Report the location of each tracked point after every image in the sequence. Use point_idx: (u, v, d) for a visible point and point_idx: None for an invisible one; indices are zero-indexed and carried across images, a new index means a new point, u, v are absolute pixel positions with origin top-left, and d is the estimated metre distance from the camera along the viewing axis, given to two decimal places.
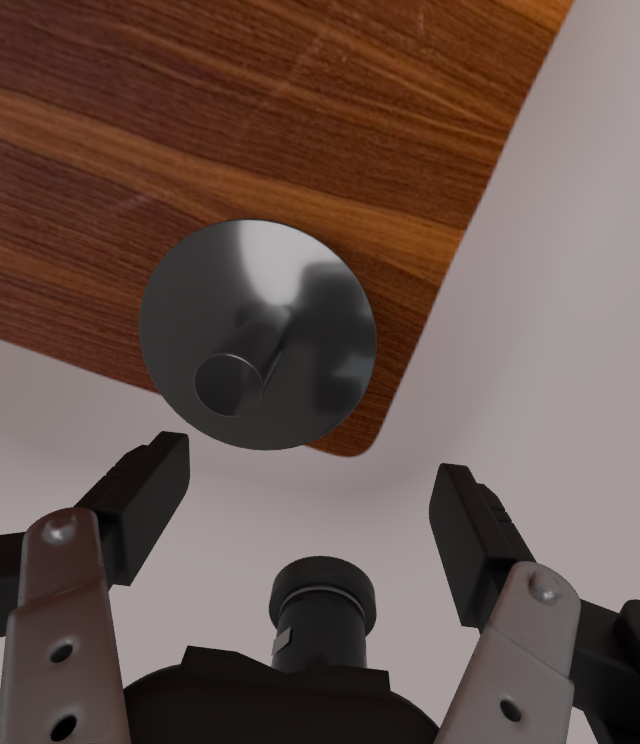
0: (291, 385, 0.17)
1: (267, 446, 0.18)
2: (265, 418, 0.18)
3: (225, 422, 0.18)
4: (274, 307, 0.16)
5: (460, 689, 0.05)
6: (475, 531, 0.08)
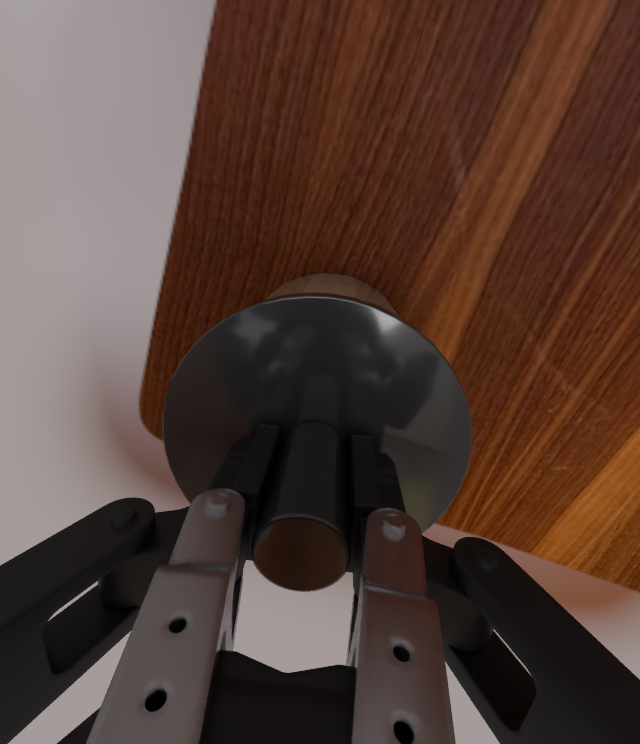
0: None
1: (171, 453, 0.13)
2: (215, 453, 0.13)
3: (200, 402, 0.12)
4: None
5: (360, 659, 0.05)
6: (354, 486, 0.09)
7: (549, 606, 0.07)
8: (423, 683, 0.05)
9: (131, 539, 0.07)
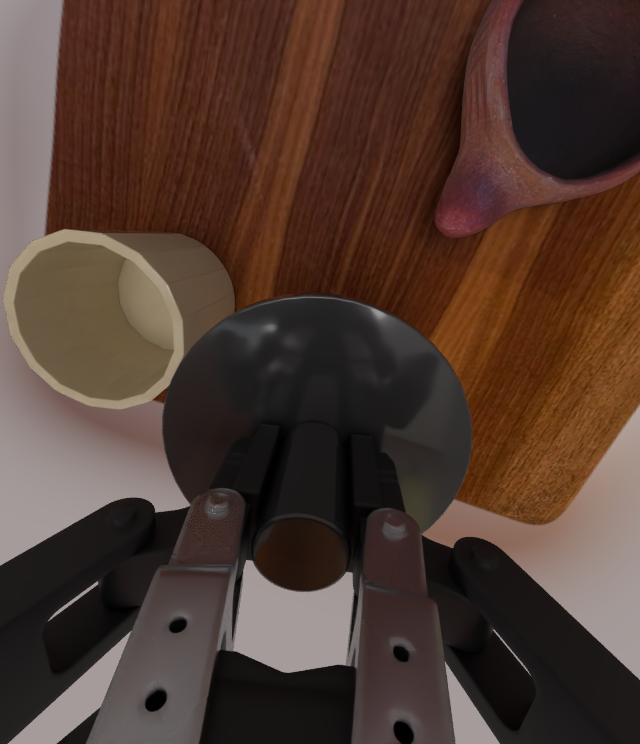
0: None
1: (171, 453, 0.13)
2: (214, 453, 0.13)
3: (199, 402, 0.12)
4: None
5: (360, 659, 0.05)
6: (353, 486, 0.09)
7: (549, 606, 0.07)
8: (423, 683, 0.05)
9: (131, 539, 0.07)
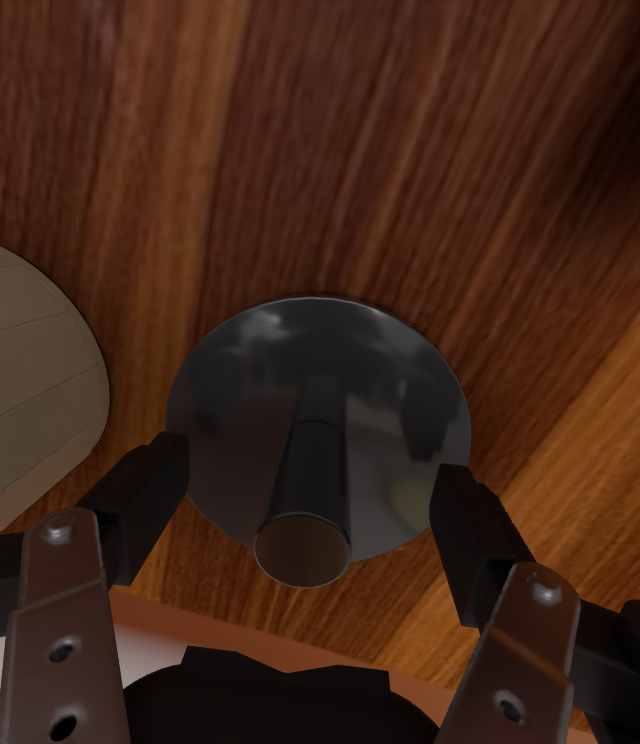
0: (266, 484, 0.14)
1: None
2: (217, 452, 0.13)
3: (202, 402, 0.13)
4: (366, 473, 0.13)
5: (460, 689, 0.05)
6: (475, 531, 0.08)
7: None
8: None
9: None
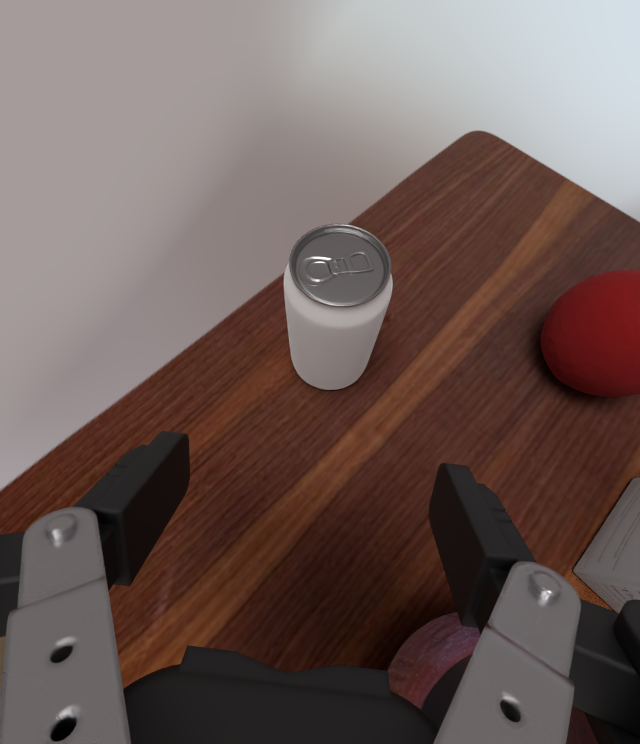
0: None
1: None
2: None
3: None
4: None
5: (460, 689, 0.05)
6: (475, 531, 0.08)
7: None
8: None
9: None
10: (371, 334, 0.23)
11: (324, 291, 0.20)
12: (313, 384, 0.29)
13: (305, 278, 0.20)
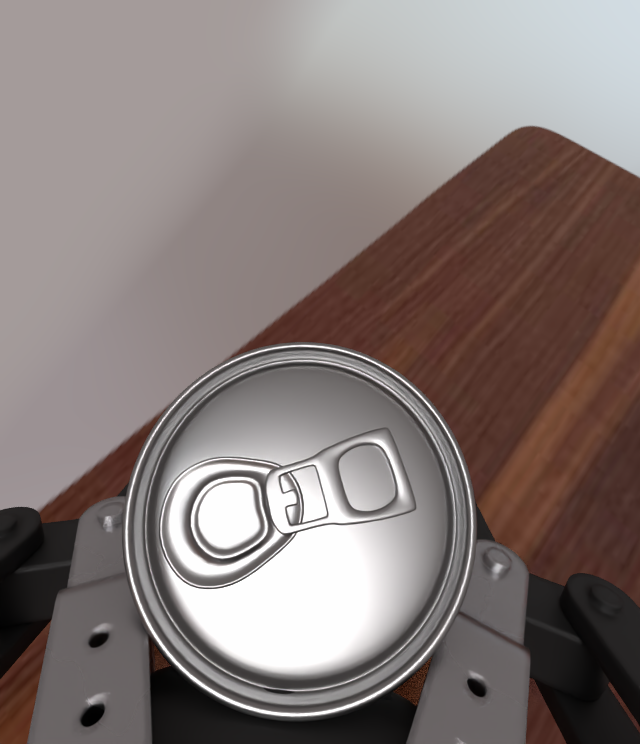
0: None
1: None
2: None
3: None
4: None
5: (430, 674, 0.05)
6: None
7: None
8: (496, 726, 0.04)
9: (3, 553, 0.07)
10: None
11: (241, 613, 0.05)
12: None
13: (180, 553, 0.06)
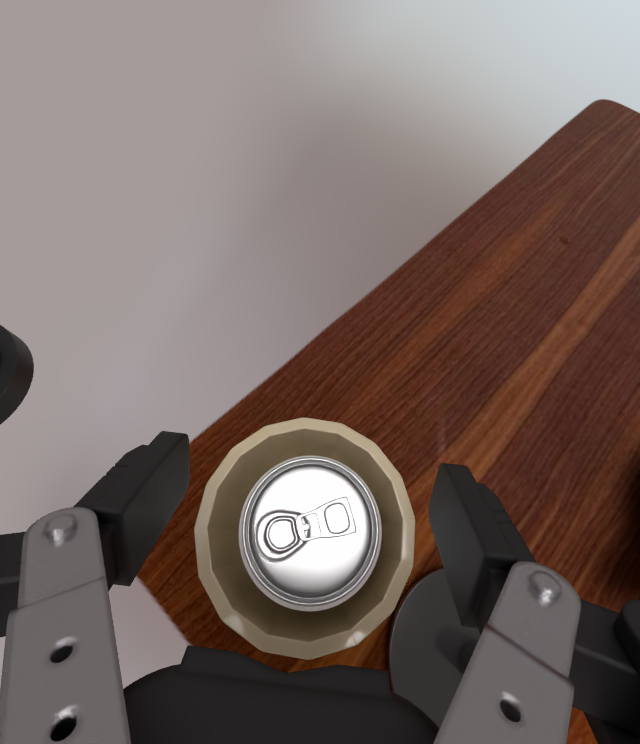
0: (441, 677, 0.22)
1: (397, 626, 0.23)
2: (421, 639, 0.23)
3: (427, 602, 0.24)
4: None
5: (460, 689, 0.05)
6: (475, 531, 0.08)
7: None
8: None
9: None
10: None
11: (287, 571, 0.15)
12: None
13: (263, 548, 0.15)
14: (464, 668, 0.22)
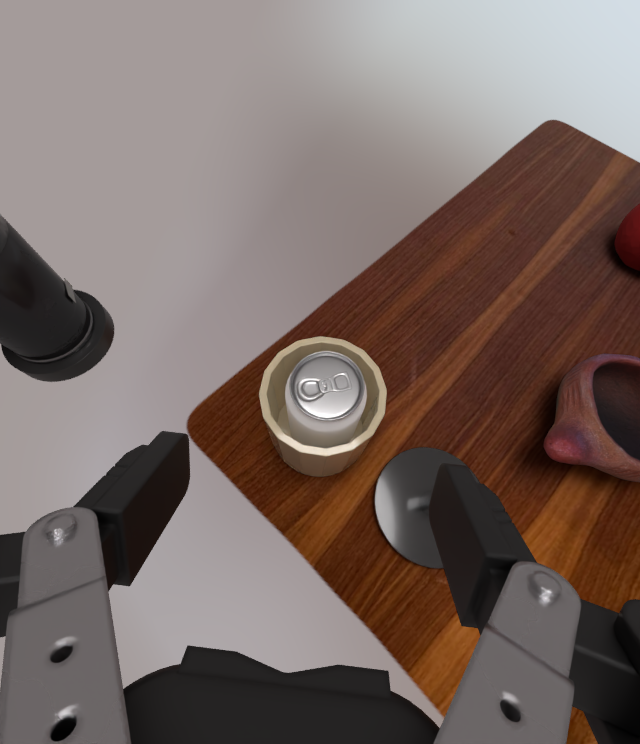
0: (408, 510, 0.34)
1: (380, 482, 0.35)
2: (395, 489, 0.35)
3: (399, 468, 0.36)
4: None
5: (460, 689, 0.05)
6: (475, 531, 0.08)
7: None
8: None
9: None
10: (351, 429, 0.30)
11: (315, 406, 0.27)
12: None
13: (301, 396, 0.27)
14: (421, 502, 0.34)
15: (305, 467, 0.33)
